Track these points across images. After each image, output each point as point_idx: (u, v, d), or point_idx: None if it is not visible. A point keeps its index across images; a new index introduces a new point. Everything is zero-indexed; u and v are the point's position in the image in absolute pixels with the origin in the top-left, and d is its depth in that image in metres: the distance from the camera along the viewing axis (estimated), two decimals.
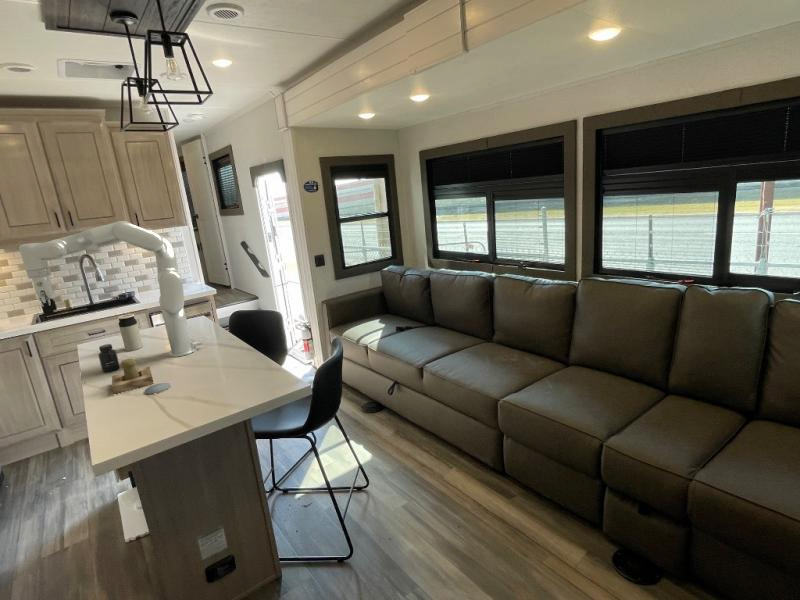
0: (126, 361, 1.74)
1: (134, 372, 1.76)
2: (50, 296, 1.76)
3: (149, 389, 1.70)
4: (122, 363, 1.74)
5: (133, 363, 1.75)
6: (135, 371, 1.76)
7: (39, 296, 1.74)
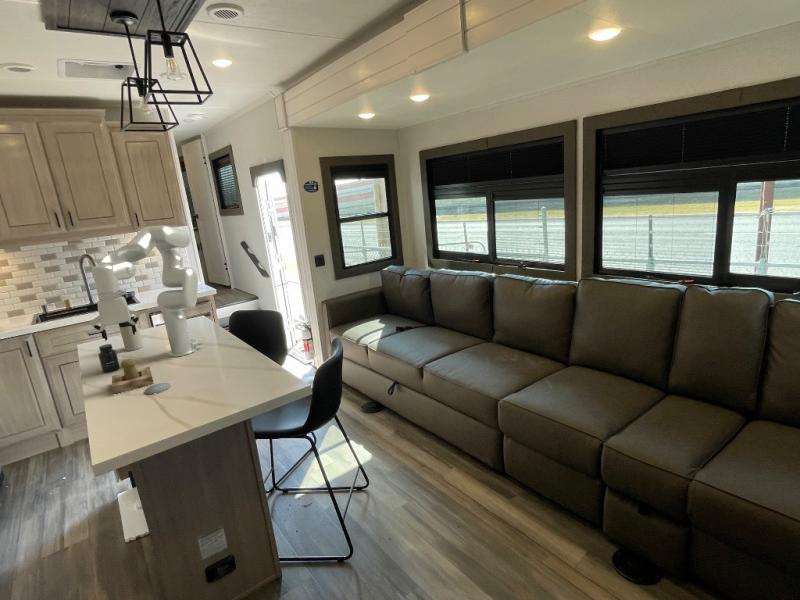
0: (126, 361, 1.74)
1: (134, 372, 1.76)
2: None
3: (149, 389, 1.70)
4: (122, 363, 1.74)
5: (133, 363, 1.75)
6: (135, 371, 1.76)
7: (130, 315, 1.72)
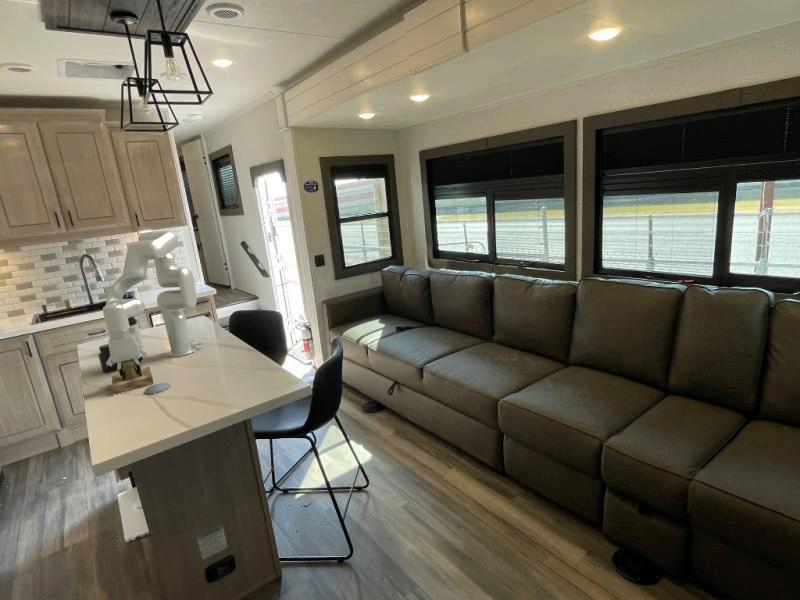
0: (126, 361, 1.74)
1: (134, 372, 1.76)
2: None
3: (149, 389, 1.70)
4: (122, 363, 1.74)
5: (133, 363, 1.75)
6: (135, 371, 1.76)
7: (139, 351, 1.76)
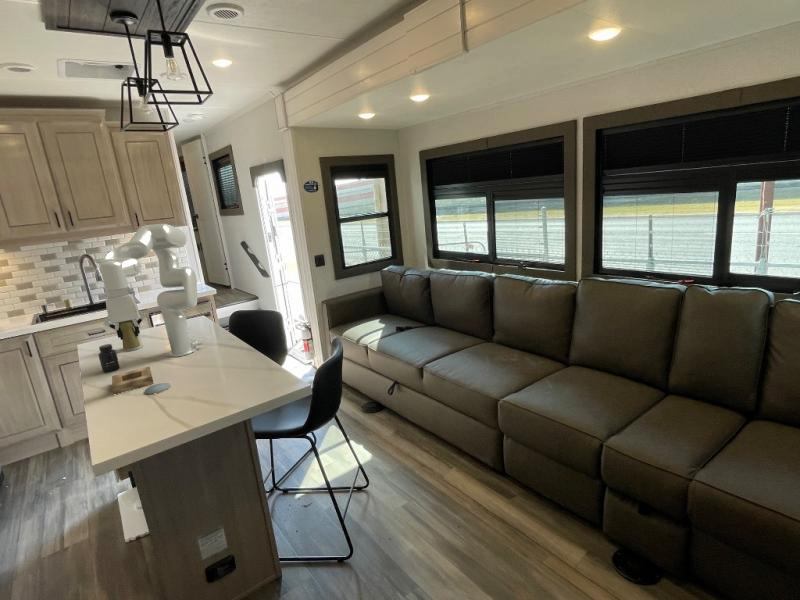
0: (124, 322, 1.67)
1: (132, 334, 1.68)
2: None
3: (149, 389, 1.70)
4: (120, 324, 1.66)
5: (131, 324, 1.68)
6: (133, 333, 1.69)
7: (138, 312, 1.69)
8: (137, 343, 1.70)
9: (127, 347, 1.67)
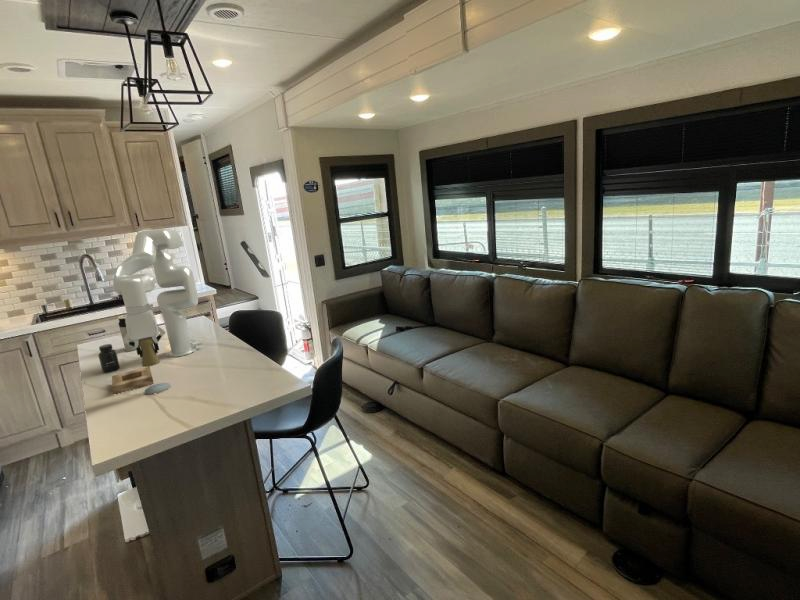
0: None
1: (152, 351, 1.65)
2: None
3: (149, 389, 1.70)
4: (139, 341, 1.63)
5: (151, 341, 1.65)
6: (153, 350, 1.66)
7: (158, 329, 1.66)
8: (157, 360, 1.67)
9: (147, 364, 1.64)
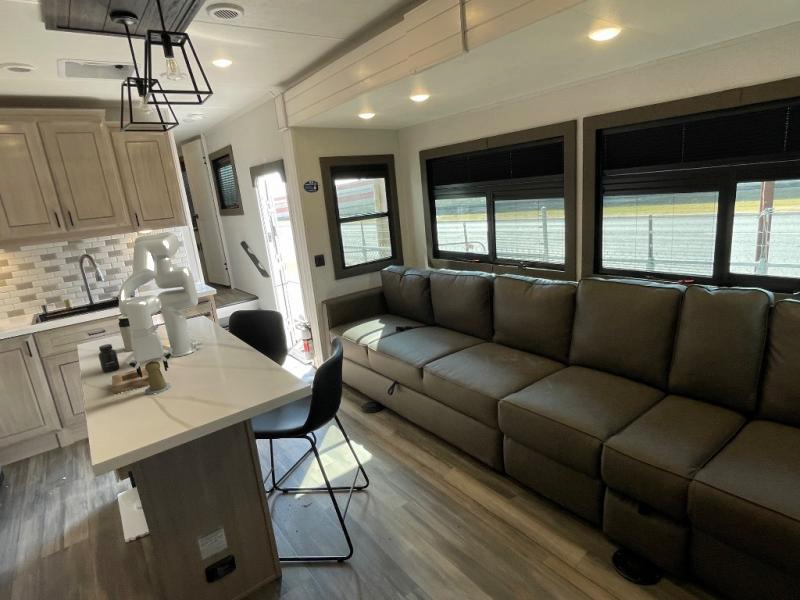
0: (150, 364, 1.66)
1: (158, 375, 1.68)
2: None
3: (149, 389, 1.70)
4: (146, 366, 1.66)
5: (157, 366, 1.68)
6: (160, 374, 1.69)
7: (163, 350, 1.68)
8: (164, 384, 1.70)
9: (154, 389, 1.68)
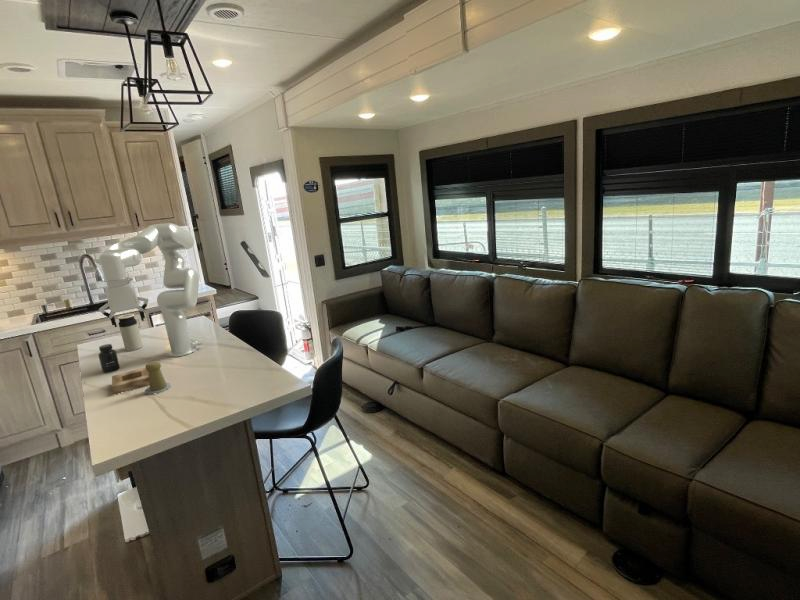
0: (151, 364, 1.66)
1: (159, 375, 1.68)
2: None
3: (149, 389, 1.70)
4: (147, 366, 1.66)
5: (158, 366, 1.68)
6: (160, 374, 1.69)
7: None
8: (164, 384, 1.70)
9: (154, 389, 1.68)
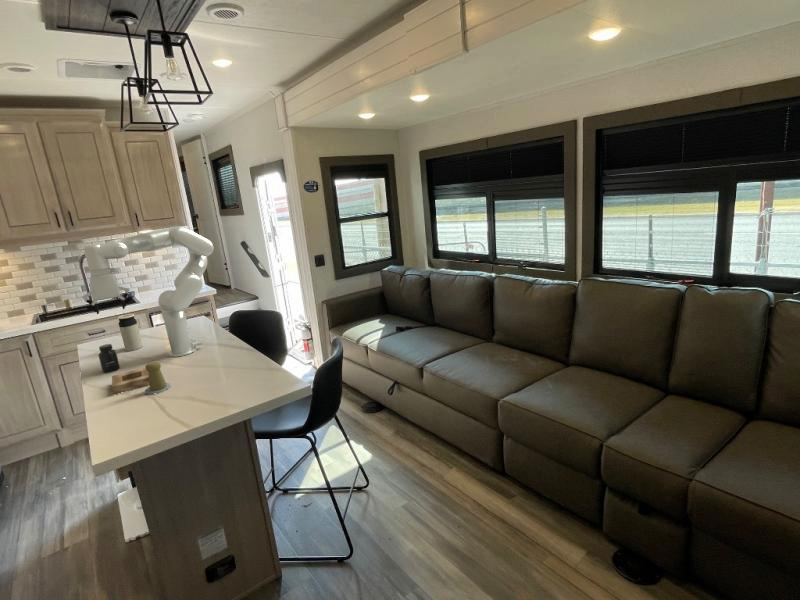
0: (151, 364, 1.66)
1: (159, 375, 1.68)
2: None
3: (149, 389, 1.70)
4: (147, 366, 1.66)
5: (158, 366, 1.68)
6: (160, 374, 1.69)
7: (119, 291, 1.86)
8: (164, 384, 1.70)
9: (154, 389, 1.68)
